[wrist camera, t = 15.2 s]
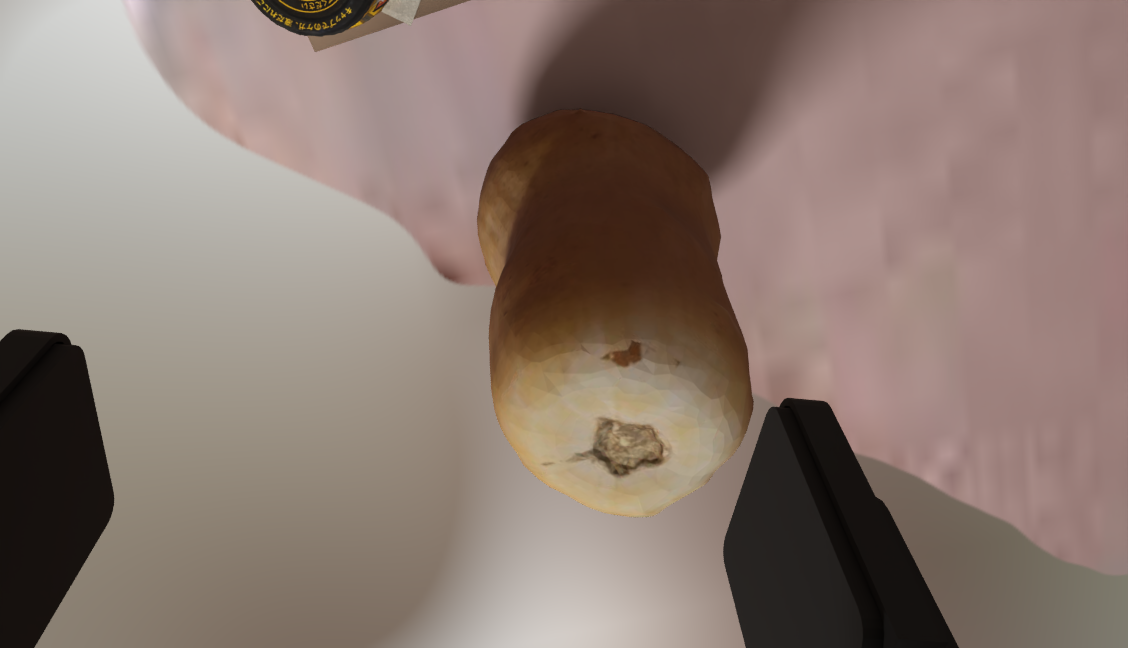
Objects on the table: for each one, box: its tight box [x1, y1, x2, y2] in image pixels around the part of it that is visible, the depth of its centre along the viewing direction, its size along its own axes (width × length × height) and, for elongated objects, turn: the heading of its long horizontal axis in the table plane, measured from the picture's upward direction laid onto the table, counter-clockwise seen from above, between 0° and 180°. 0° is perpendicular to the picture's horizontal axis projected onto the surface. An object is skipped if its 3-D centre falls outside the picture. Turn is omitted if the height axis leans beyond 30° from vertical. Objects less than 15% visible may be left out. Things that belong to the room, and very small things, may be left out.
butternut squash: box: [477, 108, 754, 517], centre depth 42 cm, size 14×13×25 cm
